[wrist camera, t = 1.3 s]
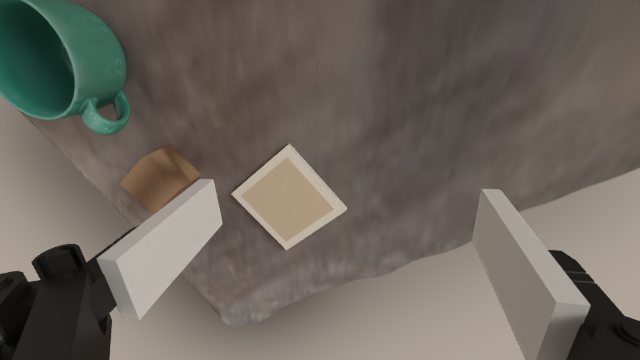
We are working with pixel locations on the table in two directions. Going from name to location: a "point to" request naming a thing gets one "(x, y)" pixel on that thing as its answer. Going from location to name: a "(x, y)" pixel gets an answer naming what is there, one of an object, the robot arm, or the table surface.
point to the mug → (61, 63)
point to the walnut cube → (159, 178)
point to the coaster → (289, 198)
